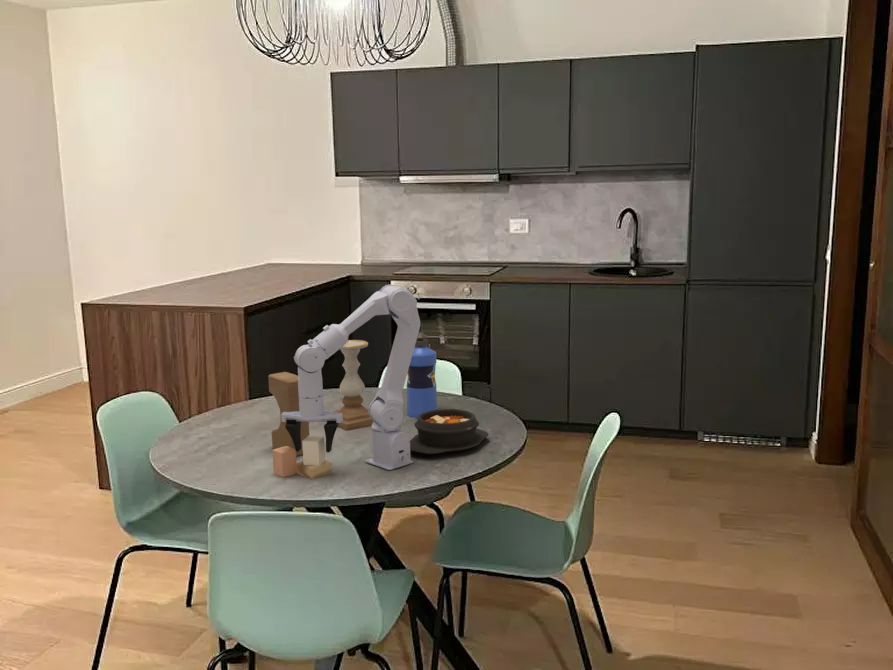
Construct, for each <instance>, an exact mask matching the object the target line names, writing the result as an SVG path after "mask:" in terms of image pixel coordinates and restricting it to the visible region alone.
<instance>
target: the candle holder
mask: <svg viewBox="0 0 893 670" xmlns="http://www.w3.org/2000/svg"><path fill="white" fill-rule="evenodd" d="M368 346H369V342H368V341H366V340H362V339H348V342H347V343H346V344H345V345H344V346H343V347H341V348H340V349H339V350H340V351H341V353H342V354H343V356H344V361H343V363H342V365H341V367H343V369H344V370H345V374H344V377H343V379H342V381H341V383H340V384H339V392H340V394H341V395H343V398H342V400H341V402H342V404H343V406H342V407H341V408H339V409H337V410H332V412H334V413H342V415H343V421H342V422H341V423H339V424H338V427H337V428H339V429H341V430H345V431H351V430H355V429H361V428H365V427H369V426H371V427H372V424H373V419H372V418H371V417H370V416H369V412H368V409H369V408H368V407H366V406H364V405H362V404H363V402H364V398H363V397H362V394H363V393H364V392H365V389H366V388H365V387H366V386H365V384H364V382H363V380H362V378H360V375H359V373H358V370H359V367H360V366H361V363H360V361H359V360H358V355H359V353H360V351H361V349H364V348H366V347H368Z"/></svg>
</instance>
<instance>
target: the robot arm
mask: <svg viewBox="0 0 893 670" xmlns="http://www.w3.org/2000/svg"><path fill="white" fill-rule="evenodd" d="M417 305H418V301H417V299H416V298H415V296H414V295H413V293H412V292H411V291H410V290H409V289H407V288H404V287H399V286H397V285H394V284H386V285H384V286H383V287H381V289H379V290H376V291H375V292H374V293H373V294H372V295H371V296H370V297H368V299H366V301H364V302H363V303H362V304H361V305H360V306H359V307H357V308H356V309H355V310H354V311H353V312H352V313H351V314H350V315H349V316H348V317H347V318H345V319H344V320H343V321H342V322H341V323H339V324H337V323H332V324H330V325H328V324H326V325H325V326H324V327H322V329H323V331H322V332H320V333H319V334H318V335H317V336H315V337H314V338H313V339H311V338H310V339H309V340H307V343H308V344H303V345H301V346H299V348H297V350H296V351H295V354H294V356H293V360H294V362H295V364H296V365H297V376H298V392H299V410H300V411H296V412H283V413H282V414H281V415H280V419H281V418H282V422H286V425H285V428H286V429H287V431H288V432H289V434H290V436H291V438H292V440H293V443H294V446H295V450H296V451H298V452H299V451H300V450H301V436H300V431H301V421H306V422H309V423H310V422H313V423H320V422H321V423H325V424H324V425H323V429H324V433H325V434H324V435H325V436H324V437H325V453H330V452H331V451H332V449H333V441H334V439H335V438H334V437H335V434H336V431H337V429H338V428H339V427H338V424H339V423H341V422H342V421H343V415H342V413H334V412H333V411H326V410H325V409H324V408H325V407H324V406H325V405H324V391H323V390H324V388H323V375H322V374H323V373H322V368H323V367H324V365H325V361H326V360H328V359H329V358H330V357H332V355H334V354H336V352H338V351H340V350H341V349H340V348H341V347H343V346H344V345H345V344H346V343H347V342H348V340H349V336H350V334H352V333H354V332H355V331H356V330H357V329H358V328H360V327H361V326H363V325H364V324H365V323H367V322H368V321H370V320H371V319H372V318H374V317H375V316H383V315H384V316H385V315H387V316H388V315H391V317H392V319H393V320H394V322H395V323H396V326H397V329H396V333H395V336H394V340H393V344H392V347H391V351H390V354H389V359H388V362H387V365H386V369H385V373H384V376H383V380H382V385H381V387H380V388H378V390H377V391H376V394H375V396H374V399H373V400H372V401H370V403H369V406H368V408H367V409H368V412H369V416H370V417H371V418H372V419H373V424H372V425H371V444H372V445H371V447H372V457H370V458H367V459H365V463H367V464H370V465H373V466H376V467H377V468H378V467H379V468H382V469H385V470H387V471H392V470H394V469H398V468H400V467H401V468H402V467H404V466H406V465H410V464H413V463H414V460H413V459H411V450H410V440H411V439H410V436H409V435H408V434H407V433H406V432H405V431H403V430H402V427H401V425H402V424H403V421H404V413H403V412H404V411H403V409H404V405H405V404H404V396H403V391H404V387H405V382H406V381H407V380H406V379H407V377H408V375H407V373H408V369H409V365H410V362H411V358H412V354H413V351H414V347H415V343H416V340H417V336H418V332H420V329H421V328H420V327H421V319H420V315H419V311H418V307H417Z"/></svg>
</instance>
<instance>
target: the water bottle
mask: <svg viewBox="0 0 893 670" xmlns="http://www.w3.org/2000/svg"><path fill="white" fill-rule="evenodd" d="M427 337H428V336H427V335H426V334H425V333H424V332H423V331H422V332H421V331H419V332H418V336H417V340H416V343H415V347H414V351H413V354H412V358H411V362H410V365H409V369H408V373H407V378H406V379H407V380H406V381H407V382H406V414H407V415H406V416H408V417H409V416H410V417H409V418H413V417H416V418H415V419H418V416H419V415H420V414H422V413H424V412H427V411H431V410H438V397H437V393H438V392H437V381H436V366H437V351H436V350H434V349H431V348H429V347H428V345H429V344H428V339H426V338H427Z"/></svg>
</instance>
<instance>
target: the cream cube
mask: <svg viewBox="0 0 893 670" xmlns="http://www.w3.org/2000/svg"><path fill="white" fill-rule="evenodd" d="M302 446H303V455H302V459H303V460H302V461H303V463H304V465H313V466H320V465H321V464H322V463H323V462H324V461H325V460H326V441H325V436H323V435H321V436H319V435H309V436H308V437H306V438H305V439H304V440H303V441H302Z"/></svg>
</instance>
